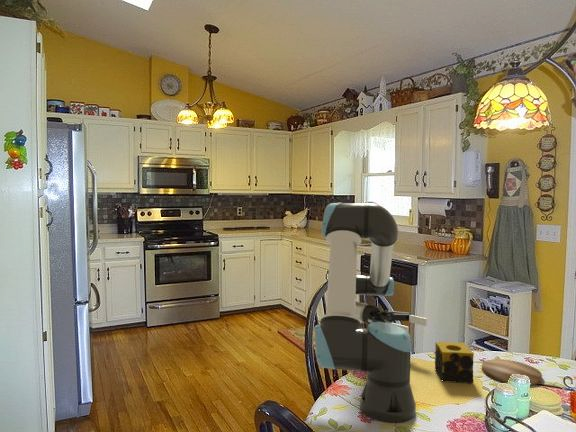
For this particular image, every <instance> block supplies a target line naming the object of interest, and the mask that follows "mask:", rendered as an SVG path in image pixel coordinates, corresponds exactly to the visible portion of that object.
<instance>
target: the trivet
mask: <svg viewBox="0 0 576 432" xmlns="http://www.w3.org/2000/svg"><path fill="white" fill-rule="evenodd" d="M481 372H482V373H483V374H484V375H486V376H487V377H489V378H490V379H493V380H495V381H498V382H501V383H504V382H508V380H509V378H510V376H511V375H512V374H520V375H526V376H528V377H529V379H530V383H531V386H537V385H539V384H541V383H542V381H543V374H542V372H541V371H540V370H539V369H537V368H535V367H534V366H531V365H529V364H526V363H523V362H520V361H517V360H510V359H500V358H497V359H496V358H495V359H493V358H492V359H487V360H484V361H483V362H482V364H481Z"/></svg>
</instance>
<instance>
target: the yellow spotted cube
mask: <svg viewBox="0 0 576 432" xmlns="http://www.w3.org/2000/svg"><path fill="white" fill-rule="evenodd" d="M434 350H435V356H434V357H435V358H434V370H435V369H436V370H435V372H436V371H437V372H436V373H438V374H439V376H438V377H440V378H441V379H440V378H439V379H440V381H441V380H443V381H442V382H444V381H456V382H455V383H465V382H467V383H466V384H473V383H474V356H475V355H474V354H475V353H474V352H473V351H472V350H471V349H470V347H469V346H468V345H467V343H466V342H449V341H447V342H445V341H435V349H434ZM438 374H437V375H438Z"/></svg>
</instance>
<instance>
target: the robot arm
mask: <svg viewBox="0 0 576 432" xmlns="http://www.w3.org/2000/svg"><path fill="white" fill-rule="evenodd" d="M323 213H324V214H323V218H322V226H321V236H322V237H324V238H325V242H326V243H327V244H328V245H329V248H330V249H329V262H328V263H329V264H328V275H327V276H328V278H327V290H326V292H327V294H326V295H327V296H326V307H325V308H326V310H325V314H324V315H323V316H322V317H321V318H320V322H319V324H317V325H315V326H314V345H315V354H316V362H317V364H318V366H319V367H321V368H324V369H331V370H334V371H335V370H341V371H343V370H344V371H355V372H356V371H357V372H366V374H367V375H366V381H365V384H364V387H363V390H362V393H361V396H360V399H359V401H360V405H359V407H360V409H361V411H362V412H363V413H364V414H365V415H366V416H368V417H370V418H372V419H374V420H378V421H381V422H387V423H403V422H408V421H410V420H412V419H413V418H414V417H415V416H416V411H417V407H416V406H417V405H416V401H415V397H414V394H413V391H412V387H411V352H412V350H413V349H412V344H411V342H412V341H411V335H410V333H409V329H410V327H409V326H407V325H402V324H399V323H395V322H409V323H412V324H416V325H419V326H424V327H426V326H428V325H427V324H428V323H427V322H428V321H427V318H426V317H421V316H417V315H413V313H412V312H411V311H409V312H406V311H394V310H389V309H385V311H384V310H380V308H379V307H378V305H373V304H368V303H364V302H359V301H356V300H357V296H358V295H360V296H361V295H363V296H375V297H376V296H379V297H390V296H393V295H394V289H395V288H394V287H395V283H394V282H395V280H394V278H393V276H392V277H391V268H392V261H393V251H394V245H395V244H396V242H398V241H397V240H398V237H399V229H398V225H397V222H396V220H395V218H394V216H393V215H392V214H391V213H390V212H389V210H387V209H386V208H384V207H383V206H382V205H379V204H376V203H370V202H369V203H368V202H367V203H357V202H356V203H355V202H354V203H351V202H350V203H349V202H348V203H347V202H344V203H343V202H342V201H341V202H331V203H329V204H327V205H326V207H325V210H324V212H323ZM362 239H369V241H370V242H371V247H370V248H371V249H370V265H369V266H370V267H369V275H358V274H357V263H358V261H357V256H358V252H357V250H358V246H360V245H361V243H362ZM394 321H395V322H394ZM361 324H365V325H367V327H366V328H365V327H361Z"/></svg>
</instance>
